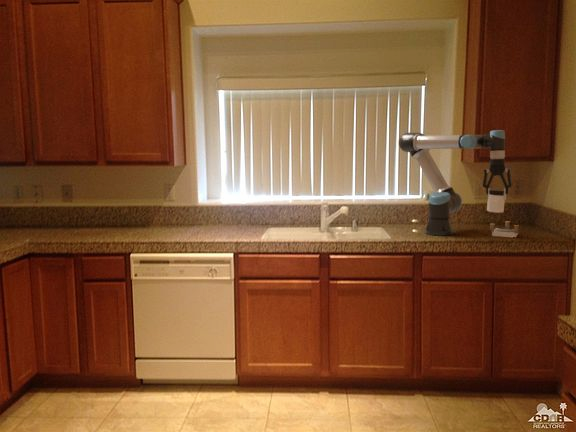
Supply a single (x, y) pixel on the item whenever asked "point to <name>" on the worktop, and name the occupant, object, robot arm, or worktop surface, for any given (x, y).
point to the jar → (496, 201)
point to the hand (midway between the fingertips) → (497, 199)
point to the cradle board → (504, 231)
